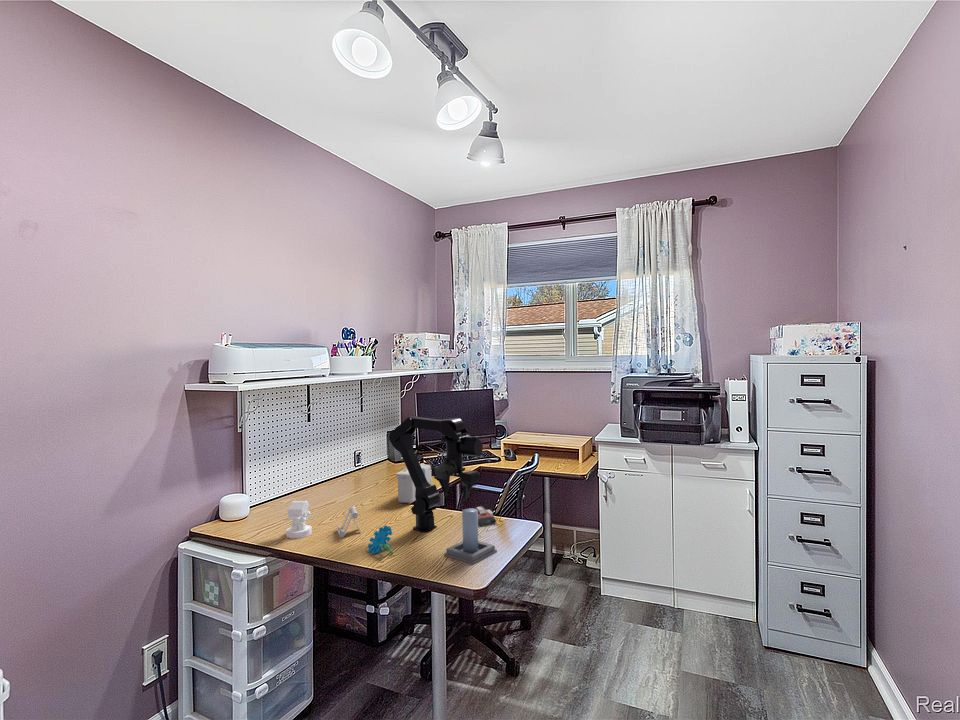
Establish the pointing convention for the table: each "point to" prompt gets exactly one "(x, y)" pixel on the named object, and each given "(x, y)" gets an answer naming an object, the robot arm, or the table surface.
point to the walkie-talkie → (485, 516)
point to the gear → (380, 540)
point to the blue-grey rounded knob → (470, 530)
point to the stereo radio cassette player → (410, 484)
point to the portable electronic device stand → (353, 515)
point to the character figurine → (298, 519)
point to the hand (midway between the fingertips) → (455, 498)
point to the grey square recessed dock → (459, 554)
